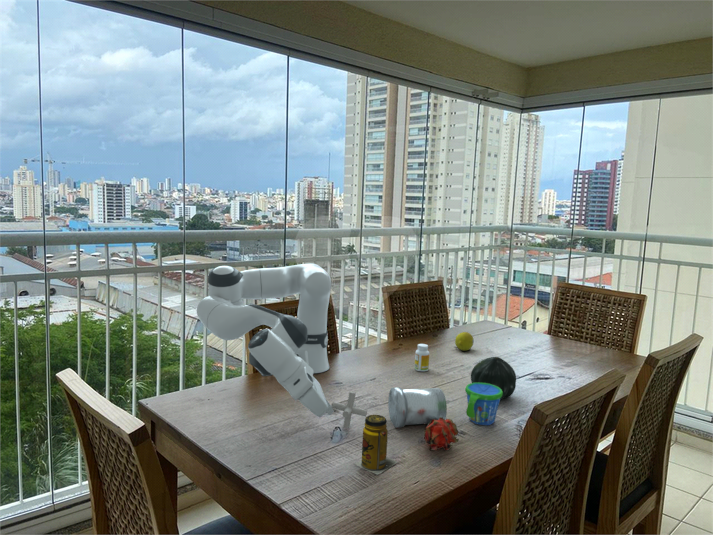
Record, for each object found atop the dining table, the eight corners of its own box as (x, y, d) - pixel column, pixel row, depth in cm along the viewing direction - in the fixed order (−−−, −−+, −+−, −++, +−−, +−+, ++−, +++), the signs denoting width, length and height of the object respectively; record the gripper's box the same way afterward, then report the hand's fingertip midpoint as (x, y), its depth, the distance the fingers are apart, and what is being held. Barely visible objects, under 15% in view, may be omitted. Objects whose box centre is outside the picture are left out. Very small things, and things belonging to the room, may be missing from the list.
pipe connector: (359, 436, 143) (366, 401, 142) (324, 427, 145) (331, 392, 144) (366, 425, 153) (372, 392, 152) (333, 417, 154) (339, 384, 154)
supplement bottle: (430, 368, 204) (431, 344, 203) (425, 372, 199) (427, 347, 198) (416, 366, 206) (418, 342, 205) (412, 370, 201) (414, 345, 200)
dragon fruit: (453, 445, 144) (431, 467, 135) (431, 421, 147) (408, 441, 138) (470, 428, 139) (449, 450, 130) (447, 404, 142) (424, 424, 133)
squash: (490, 368, 190) (478, 343, 181) (528, 381, 180) (518, 355, 171) (470, 400, 184) (457, 375, 175) (509, 415, 174) (497, 390, 165)
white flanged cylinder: (399, 435, 146) (401, 397, 145) (386, 416, 159) (388, 380, 157) (447, 433, 149) (450, 395, 148) (430, 414, 162) (433, 379, 160)
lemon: (466, 354, 226) (467, 336, 225) (450, 350, 231) (451, 332, 230) (477, 349, 235) (479, 331, 234) (461, 345, 239) (463, 328, 238)
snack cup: (481, 434, 148) (484, 399, 147) (451, 421, 156) (453, 388, 154) (510, 420, 159) (513, 388, 158) (481, 409, 166) (483, 378, 165)
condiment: (353, 464, 128) (356, 417, 126) (375, 452, 134) (377, 408, 133) (377, 475, 123) (380, 427, 122) (398, 463, 130) (401, 417, 128)
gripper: (286, 373, 153) (318, 404, 156) (292, 399, 133) (328, 434, 136) (302, 358, 153) (333, 390, 157) (310, 382, 134) (346, 418, 137)
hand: (331, 411), depth 146 cm, fingers closed
